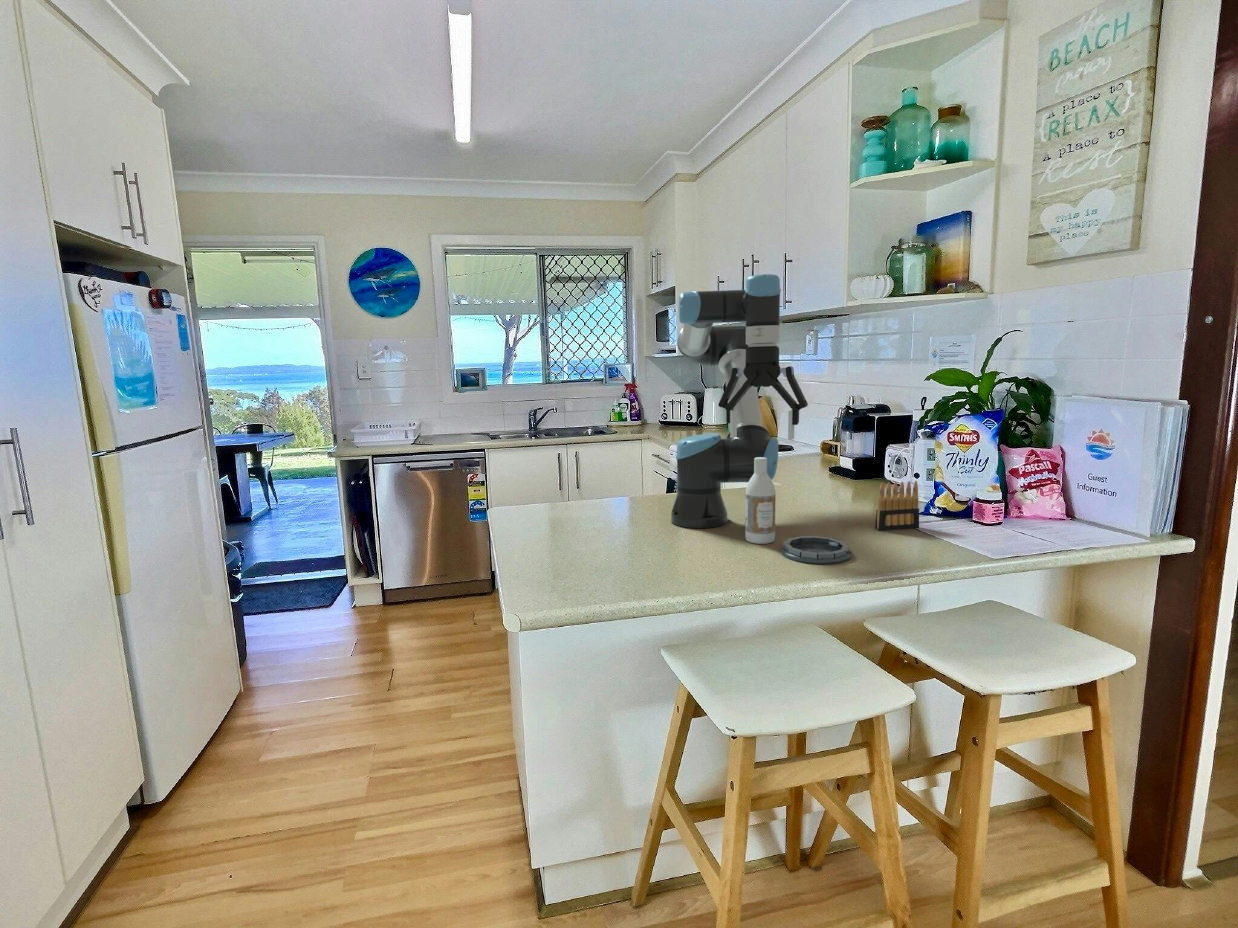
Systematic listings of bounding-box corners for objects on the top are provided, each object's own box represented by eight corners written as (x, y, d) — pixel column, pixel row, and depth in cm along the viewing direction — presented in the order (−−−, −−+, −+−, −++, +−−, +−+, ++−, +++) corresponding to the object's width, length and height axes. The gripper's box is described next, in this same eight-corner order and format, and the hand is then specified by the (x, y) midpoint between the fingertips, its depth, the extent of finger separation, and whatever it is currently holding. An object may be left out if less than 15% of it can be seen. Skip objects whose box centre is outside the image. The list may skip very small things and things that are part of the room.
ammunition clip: (878, 531, 154) (880, 483, 152) (874, 529, 155) (876, 482, 154) (919, 528, 155) (921, 481, 153) (914, 526, 157) (917, 479, 155)
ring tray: (772, 558, 135) (772, 550, 135) (790, 540, 148) (790, 532, 148) (845, 568, 128) (845, 558, 127) (856, 548, 141) (856, 539, 140)
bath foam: (751, 545, 145) (751, 461, 142) (741, 537, 152) (741, 456, 149) (779, 543, 146) (780, 459, 143) (768, 535, 153) (769, 455, 149)
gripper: (704, 347, 144) (705, 438, 148) (815, 343, 132) (813, 442, 136) (715, 347, 151) (716, 434, 154) (822, 343, 139) (820, 437, 142)
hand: (761, 438), depth 145 cm, fingers open, 13 cm apart
